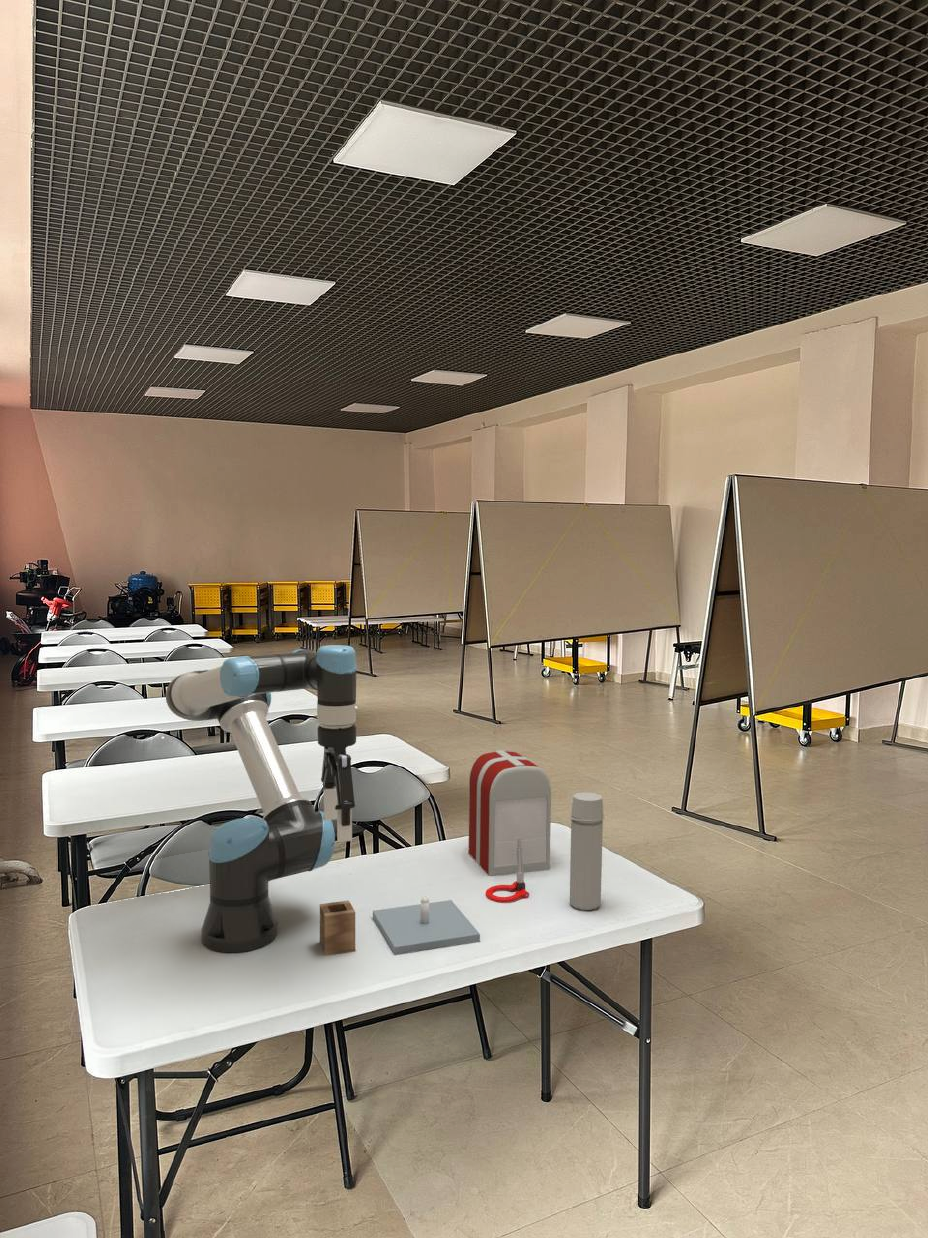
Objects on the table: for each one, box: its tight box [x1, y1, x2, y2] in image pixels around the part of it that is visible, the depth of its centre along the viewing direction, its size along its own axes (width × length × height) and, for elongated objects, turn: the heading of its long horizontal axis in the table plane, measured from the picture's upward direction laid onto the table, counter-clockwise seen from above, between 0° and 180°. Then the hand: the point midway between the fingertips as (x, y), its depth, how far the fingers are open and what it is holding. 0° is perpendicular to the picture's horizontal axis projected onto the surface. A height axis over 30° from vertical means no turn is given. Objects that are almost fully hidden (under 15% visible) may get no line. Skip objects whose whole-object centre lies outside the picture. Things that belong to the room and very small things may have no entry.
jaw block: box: [319, 900, 356, 956], centre depth 176 cm, size 6×6×8 cm
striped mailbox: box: [467, 749, 552, 877], centre depth 223 cm, size 16×18×27 cm
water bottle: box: [568, 791, 605, 911], centre depth 197 cm, size 9×8×25 cm
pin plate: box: [372, 896, 481, 955], centre depth 184 cm, size 18×18×7 cm
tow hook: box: [485, 839, 530, 903], centre depth 202 cm, size 8×13×9 cm
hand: (337, 830), depth 174 cm, fingers open, 13 cm apart
